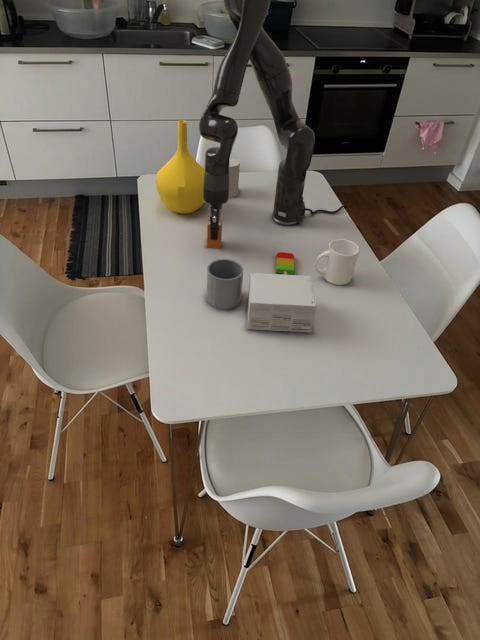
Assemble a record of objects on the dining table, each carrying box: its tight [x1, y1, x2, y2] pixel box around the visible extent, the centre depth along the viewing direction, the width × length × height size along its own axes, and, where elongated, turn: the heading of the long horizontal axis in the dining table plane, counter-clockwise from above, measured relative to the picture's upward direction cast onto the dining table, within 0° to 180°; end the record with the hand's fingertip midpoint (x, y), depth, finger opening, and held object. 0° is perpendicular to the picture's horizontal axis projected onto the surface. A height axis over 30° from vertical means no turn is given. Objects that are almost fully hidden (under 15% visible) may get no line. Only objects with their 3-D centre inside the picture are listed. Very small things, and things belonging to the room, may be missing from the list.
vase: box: [155, 119, 206, 215], centre depth 168 cm, size 18×18×30 cm
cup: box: [228, 156, 241, 199], centre depth 184 cm, size 8×8×12 cm
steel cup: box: [206, 258, 244, 310], centre depth 137 cm, size 10×10×10 cm
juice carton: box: [206, 219, 223, 249], centre depth 158 cm, size 4×3×8 cm
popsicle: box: [275, 251, 296, 275], centre depth 152 cm, size 6×15×2 cm, turn 176°
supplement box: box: [246, 272, 317, 334], centre depth 133 cm, size 17×13×9 cm
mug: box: [314, 238, 360, 286], centre depth 148 cm, size 9×12×11 cm
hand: (214, 235), depth 158 cm, fingers open, 4 cm apart
